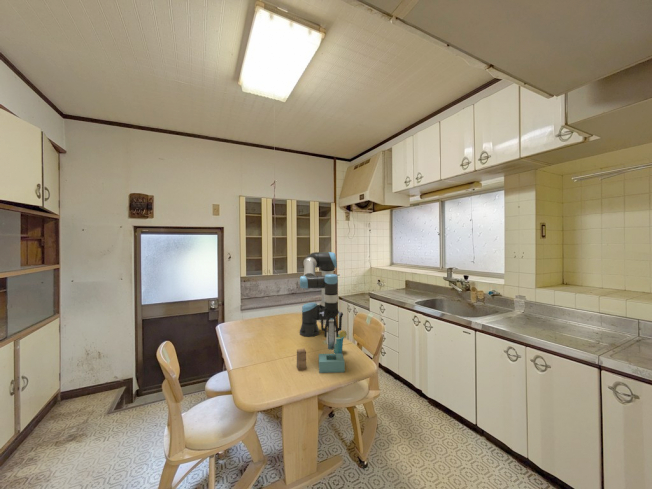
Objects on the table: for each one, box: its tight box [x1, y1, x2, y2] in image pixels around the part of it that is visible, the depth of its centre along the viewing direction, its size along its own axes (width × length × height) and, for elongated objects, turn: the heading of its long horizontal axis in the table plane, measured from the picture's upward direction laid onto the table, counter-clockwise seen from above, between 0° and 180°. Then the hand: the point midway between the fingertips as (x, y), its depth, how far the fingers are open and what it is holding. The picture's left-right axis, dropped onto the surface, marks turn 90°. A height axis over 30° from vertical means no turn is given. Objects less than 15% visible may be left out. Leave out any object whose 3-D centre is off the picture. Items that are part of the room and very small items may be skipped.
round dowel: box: [327, 320, 336, 351], centre depth 143 cm, size 4×4×15 cm
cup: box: [333, 329, 348, 354], centre depth 163 cm, size 14×8×15 cm, turn 119°
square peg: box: [296, 348, 307, 371], centre depth 143 cm, size 4×4×10 cm
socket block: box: [318, 352, 346, 374], centre depth 143 cm, size 10×14×6 cm
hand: (331, 342), depth 143 cm, fingers closed on round dowel, 4 cm apart
